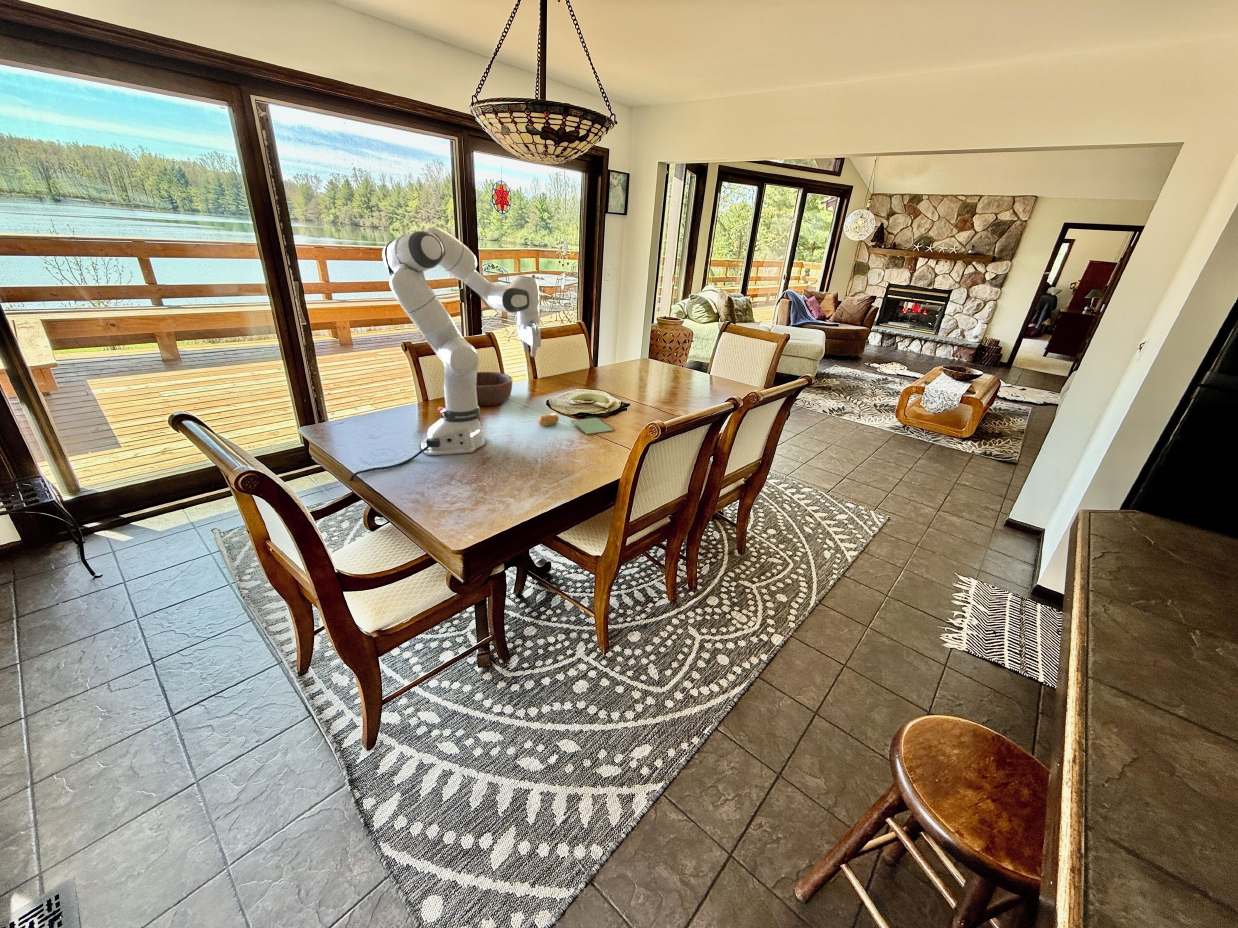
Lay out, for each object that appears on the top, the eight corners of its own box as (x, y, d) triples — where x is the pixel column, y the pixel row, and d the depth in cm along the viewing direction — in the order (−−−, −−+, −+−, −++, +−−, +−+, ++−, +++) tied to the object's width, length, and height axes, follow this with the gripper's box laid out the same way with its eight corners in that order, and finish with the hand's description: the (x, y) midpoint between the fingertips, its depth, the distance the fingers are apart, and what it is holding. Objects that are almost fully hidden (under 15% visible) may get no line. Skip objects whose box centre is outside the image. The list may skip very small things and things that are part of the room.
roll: (540, 416, 195) (535, 416, 198) (542, 427, 196) (537, 426, 199) (559, 412, 200) (554, 412, 204) (561, 423, 201) (556, 422, 205)
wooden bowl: (463, 391, 235) (461, 371, 231) (515, 392, 238) (514, 372, 234) (453, 408, 213) (451, 386, 209) (510, 409, 216) (509, 387, 211)
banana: (588, 385, 230) (617, 400, 218) (590, 394, 234) (617, 410, 222) (566, 396, 223) (594, 413, 212) (568, 406, 227) (595, 423, 215)
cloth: (586, 434, 193) (586, 433, 193) (571, 421, 206) (571, 420, 205) (613, 430, 198) (613, 430, 198) (597, 418, 211) (597, 417, 211)
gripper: (544, 323, 185) (545, 359, 190) (528, 315, 201) (529, 348, 207) (528, 324, 182) (530, 360, 188) (513, 315, 198) (515, 349, 204)
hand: (529, 354), depth 197 cm, fingers open, 8 cm apart
